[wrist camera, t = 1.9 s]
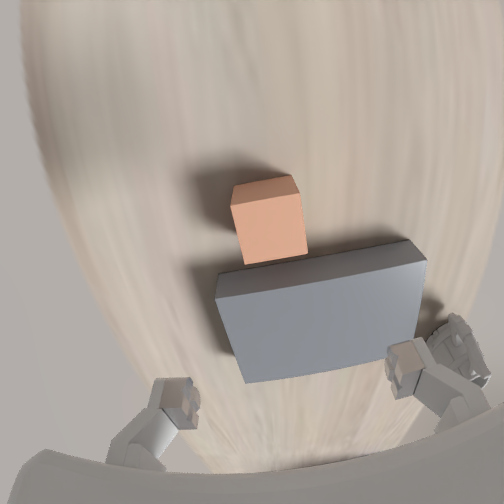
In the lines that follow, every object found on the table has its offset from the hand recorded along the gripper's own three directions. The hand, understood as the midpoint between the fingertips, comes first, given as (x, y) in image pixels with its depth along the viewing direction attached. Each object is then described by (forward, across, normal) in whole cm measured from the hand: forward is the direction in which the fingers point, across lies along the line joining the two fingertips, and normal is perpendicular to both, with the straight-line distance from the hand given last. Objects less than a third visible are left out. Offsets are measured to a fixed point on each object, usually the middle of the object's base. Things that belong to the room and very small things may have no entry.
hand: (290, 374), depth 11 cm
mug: (+18, -22, +22) cm, 36 cm away
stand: (+18, -4, +12) cm, 22 cm away
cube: (+18, 0, 0) cm, 18 cm away
